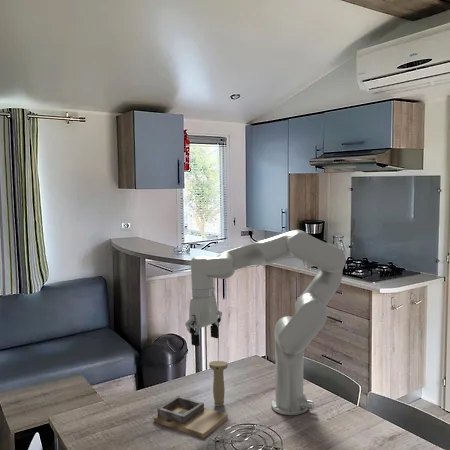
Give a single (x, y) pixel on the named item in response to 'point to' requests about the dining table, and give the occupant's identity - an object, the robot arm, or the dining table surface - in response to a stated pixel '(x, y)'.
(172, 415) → the subfloor panel
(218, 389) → the handle
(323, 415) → the dining table surface
